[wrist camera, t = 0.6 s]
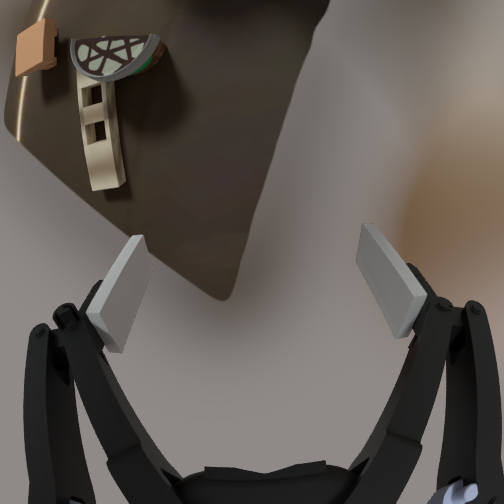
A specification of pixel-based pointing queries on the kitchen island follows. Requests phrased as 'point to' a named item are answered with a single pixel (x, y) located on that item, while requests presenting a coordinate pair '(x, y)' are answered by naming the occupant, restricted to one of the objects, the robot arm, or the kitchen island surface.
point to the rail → (97, 152)
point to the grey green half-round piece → (116, 56)
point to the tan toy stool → (36, 48)
